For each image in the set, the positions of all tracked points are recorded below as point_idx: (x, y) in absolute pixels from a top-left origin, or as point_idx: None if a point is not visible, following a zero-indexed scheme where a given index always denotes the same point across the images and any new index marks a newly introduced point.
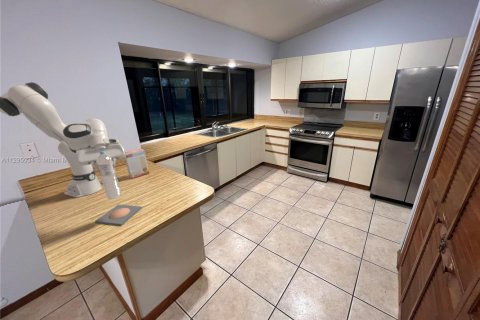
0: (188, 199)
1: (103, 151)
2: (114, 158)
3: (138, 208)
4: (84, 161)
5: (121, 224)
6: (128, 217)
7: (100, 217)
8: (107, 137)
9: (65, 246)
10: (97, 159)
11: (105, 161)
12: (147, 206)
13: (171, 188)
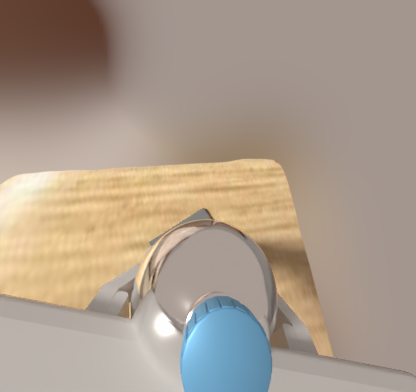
0: (62, 193)
1: (188, 363)
2: (106, 300)
3: (158, 239)
4: (386, 374)
5: (203, 208)
6: (186, 219)
7: None
8: None
9: (280, 220)
10: (271, 280)
11: (208, 219)
12: (139, 239)
13: (33, 291)
